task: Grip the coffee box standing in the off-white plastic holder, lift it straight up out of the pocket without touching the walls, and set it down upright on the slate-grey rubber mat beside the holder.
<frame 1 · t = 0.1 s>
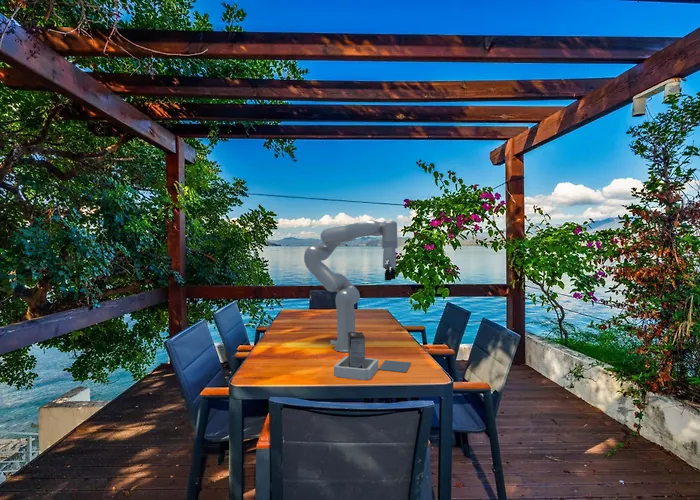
hand: (390, 279, 176), 37 cm above the table, tool pointing down, fingers open, 9 cm apart
mat: (395, 366, 154), on the table
coffee box: (356, 372, 148), resting in holder
holder: (356, 372, 148), on the table
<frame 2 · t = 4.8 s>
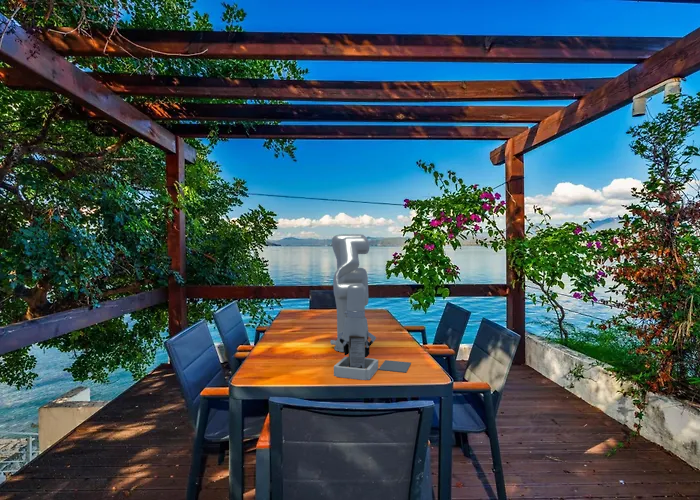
hand: (356, 355, 148), 7 cm above the table, tool pointing down, fingers closed on coffee box, 8 cm apart
coffee box: (356, 372, 148), resting in holder, touching gripper
when the fingers open (8 cm above the table, at t = 14.1 s): coffee box stays where it is, resting on mat.
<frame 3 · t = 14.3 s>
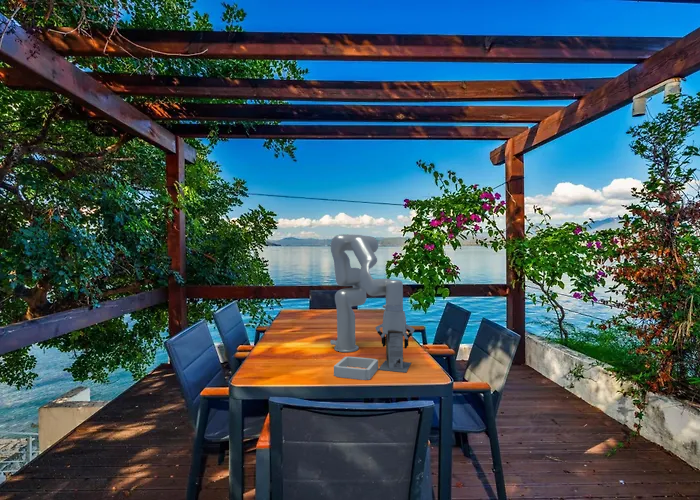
hand: (394, 346, 155), 9 cm above the table, tool pointing down, fingers open, 9 cm apart
coffee box: (394, 366, 155), resting on mat
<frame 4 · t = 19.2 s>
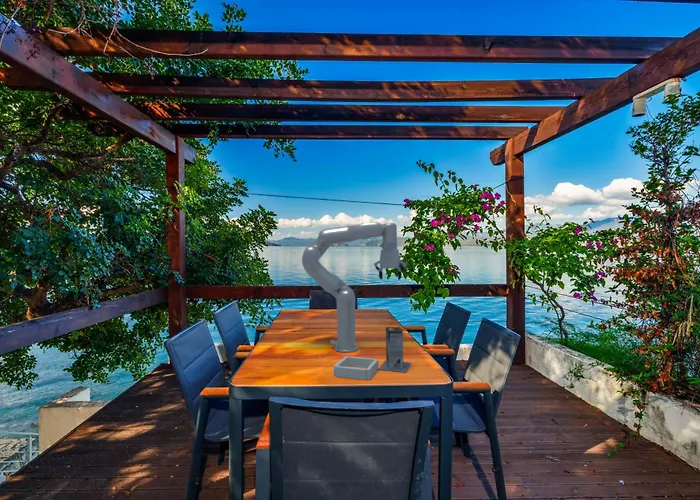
hand: (390, 279, 184), 36 cm above the table, tool pointing down, fingers open, 9 cm apart
nothing on the table moved.
at the end: coffee box inside the target area on the mat (0.4 cm from its centre), point 0.2 cm above the mat's base; coffee box tilted 0°; coffee box touching mat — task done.
